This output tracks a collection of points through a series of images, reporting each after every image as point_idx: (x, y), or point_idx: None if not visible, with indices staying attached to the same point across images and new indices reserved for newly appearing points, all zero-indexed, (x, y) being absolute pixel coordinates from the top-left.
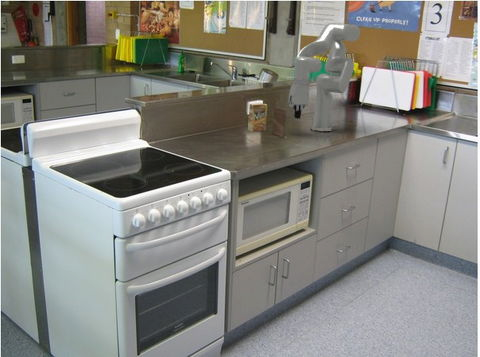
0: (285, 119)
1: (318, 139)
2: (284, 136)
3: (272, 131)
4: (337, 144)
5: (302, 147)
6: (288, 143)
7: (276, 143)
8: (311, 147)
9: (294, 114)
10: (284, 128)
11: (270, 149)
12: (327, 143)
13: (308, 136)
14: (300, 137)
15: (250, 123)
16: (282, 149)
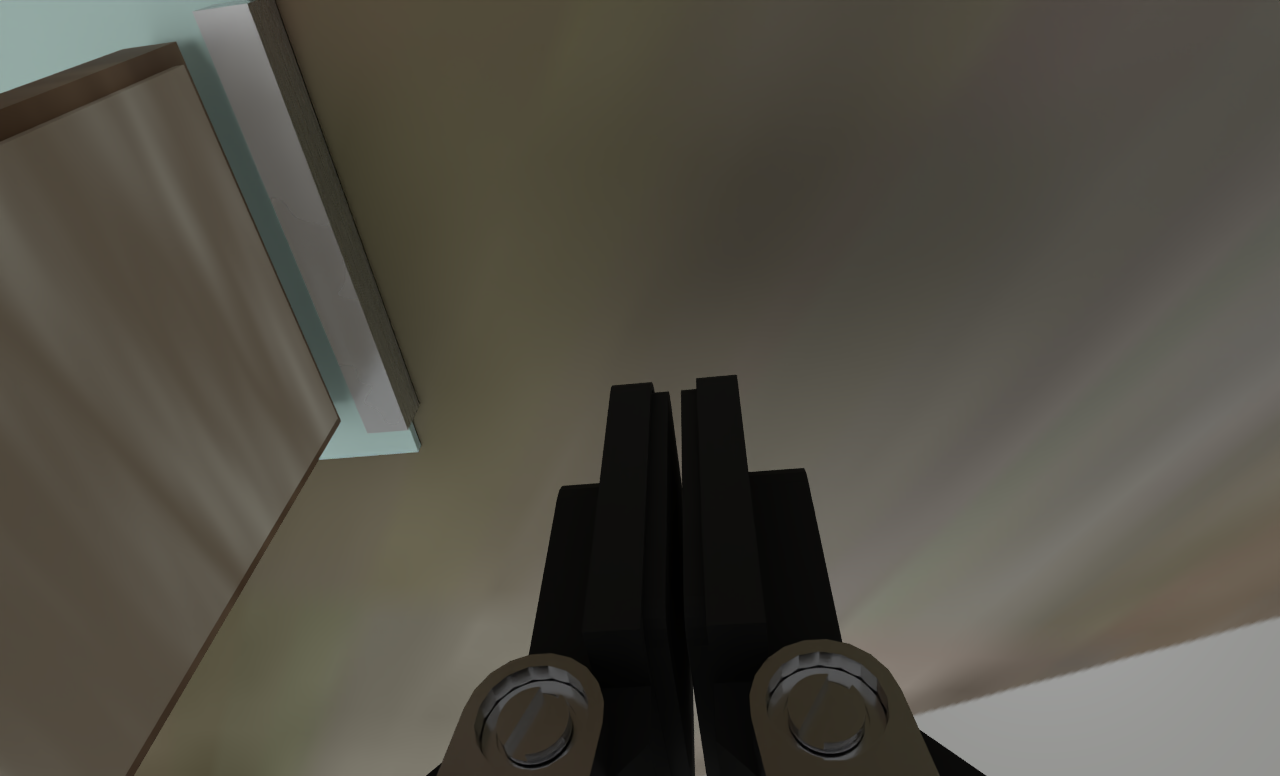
0: (159, 725)
1: (1040, 409)
2: (369, 357)
3: (96, 63)
4: (1088, 660)
5: None
6: (380, 577)
7: None
8: None
9: (554, 526)
10: (264, 541)
11: None
12: (982, 614)
13: (1027, 162)
14: (773, 245)
15: None
16: (247, 751)
